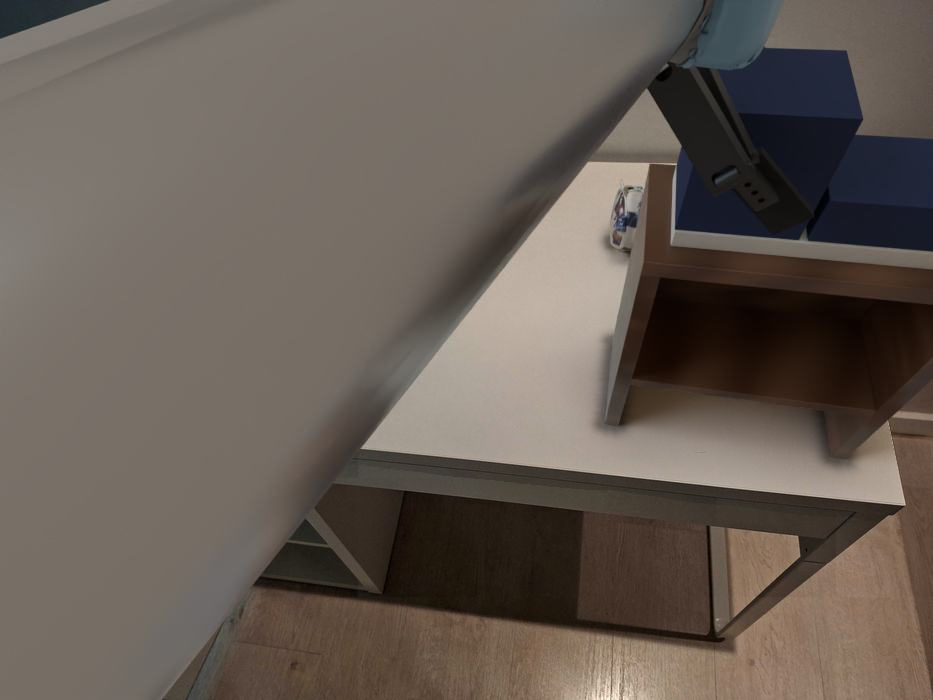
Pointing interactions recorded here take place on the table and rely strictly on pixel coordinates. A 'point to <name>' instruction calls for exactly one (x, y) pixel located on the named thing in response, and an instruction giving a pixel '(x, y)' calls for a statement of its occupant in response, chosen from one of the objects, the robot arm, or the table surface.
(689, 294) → the brown box
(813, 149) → the blue blocks on base
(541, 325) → the table surface
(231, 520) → the robot arm
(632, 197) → the pencil case
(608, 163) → the table surface
